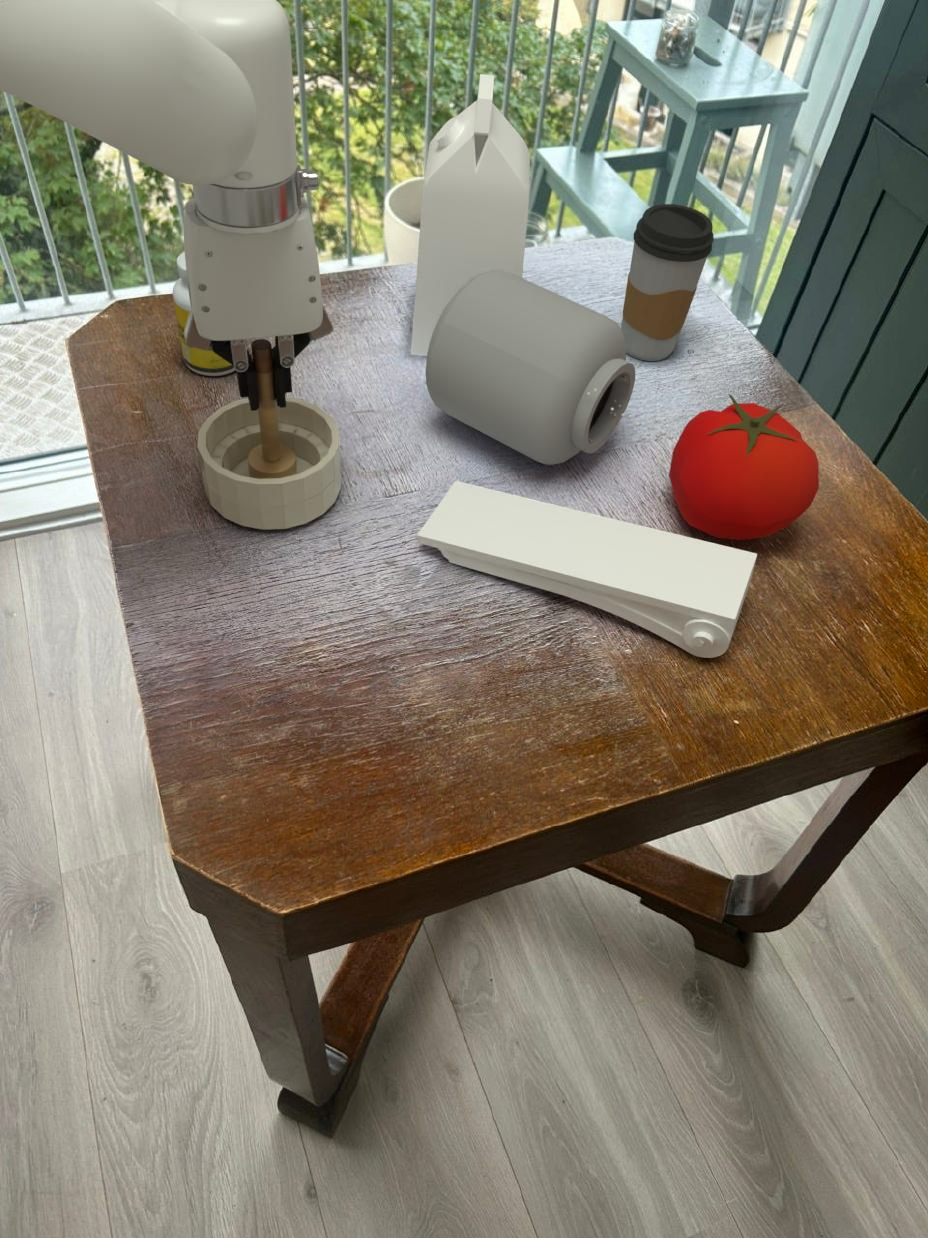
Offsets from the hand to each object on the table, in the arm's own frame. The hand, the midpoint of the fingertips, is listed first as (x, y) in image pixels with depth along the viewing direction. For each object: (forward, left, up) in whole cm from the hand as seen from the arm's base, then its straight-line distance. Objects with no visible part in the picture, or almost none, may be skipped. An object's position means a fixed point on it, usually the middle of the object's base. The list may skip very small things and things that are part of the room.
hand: (266, 398), depth 83 cm
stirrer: (0, 0, -9) cm, 9 cm away
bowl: (+1, -1, -10) cm, 10 cm away
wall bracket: (+30, +4, -10) cm, 32 cm away
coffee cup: (+22, +42, -10) cm, 48 cm away
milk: (+3, +33, -10) cm, 35 cm away
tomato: (+39, +19, -10) cm, 44 cm away
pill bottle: (-16, +12, -10) cm, 23 cm away
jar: (+20, +21, -10) cm, 31 cm away
